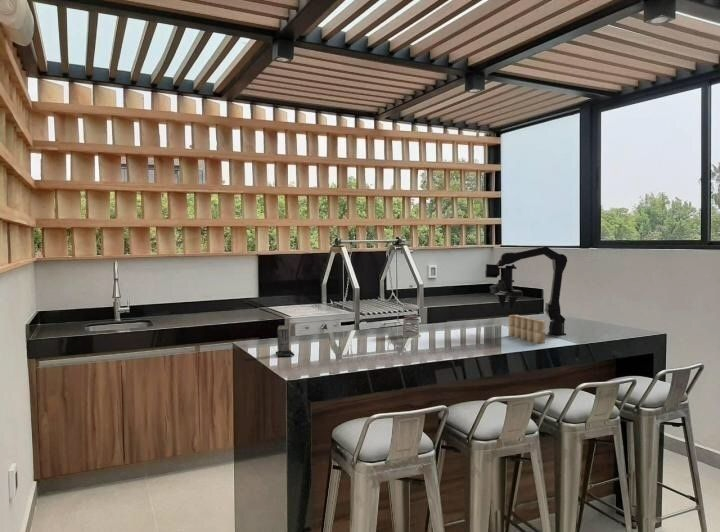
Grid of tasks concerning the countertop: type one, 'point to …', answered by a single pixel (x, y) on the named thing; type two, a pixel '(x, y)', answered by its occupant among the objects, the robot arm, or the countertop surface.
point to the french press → (412, 320)
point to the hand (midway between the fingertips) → (505, 309)
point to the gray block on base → (283, 341)
